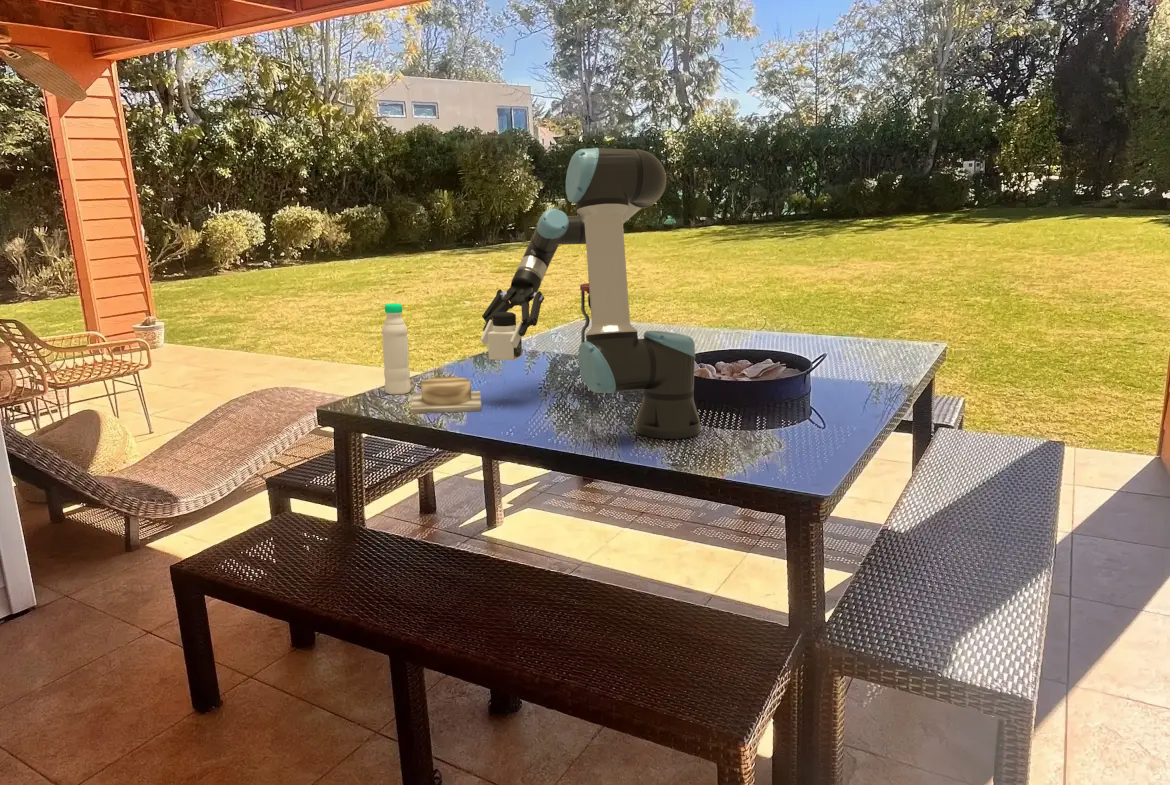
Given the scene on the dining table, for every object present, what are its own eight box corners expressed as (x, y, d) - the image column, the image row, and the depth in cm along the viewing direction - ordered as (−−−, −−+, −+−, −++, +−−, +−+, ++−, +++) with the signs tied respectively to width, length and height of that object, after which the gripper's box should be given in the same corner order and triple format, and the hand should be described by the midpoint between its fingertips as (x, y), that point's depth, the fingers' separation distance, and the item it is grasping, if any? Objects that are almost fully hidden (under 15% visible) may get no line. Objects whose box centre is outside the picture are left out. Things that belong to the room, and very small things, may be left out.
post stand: (481, 411, 213) (480, 388, 211) (410, 413, 210) (408, 390, 209) (480, 395, 230) (479, 374, 229) (414, 397, 228) (413, 376, 226)
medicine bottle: (514, 360, 214) (513, 314, 212) (488, 359, 216) (486, 313, 213) (522, 355, 221) (521, 311, 218) (496, 355, 222) (495, 310, 220)
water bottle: (415, 392, 234) (411, 303, 228) (394, 396, 229) (389, 306, 223) (401, 388, 238) (396, 301, 233) (380, 392, 233) (375, 304, 228)
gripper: (567, 287, 223) (539, 355, 213) (501, 284, 233) (470, 349, 222) (558, 268, 217) (527, 337, 207) (490, 266, 227) (458, 332, 216)
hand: (498, 343), depth 214 cm, fingers closed on medicine bottle, 8 cm apart
